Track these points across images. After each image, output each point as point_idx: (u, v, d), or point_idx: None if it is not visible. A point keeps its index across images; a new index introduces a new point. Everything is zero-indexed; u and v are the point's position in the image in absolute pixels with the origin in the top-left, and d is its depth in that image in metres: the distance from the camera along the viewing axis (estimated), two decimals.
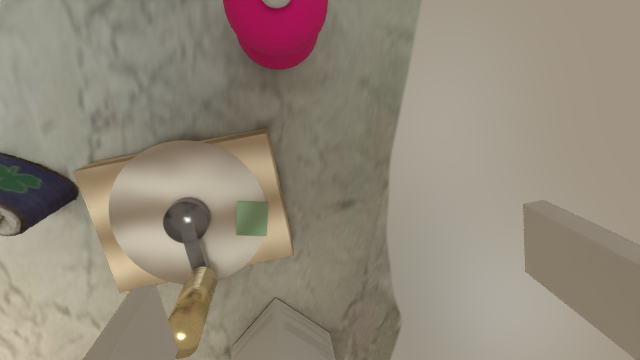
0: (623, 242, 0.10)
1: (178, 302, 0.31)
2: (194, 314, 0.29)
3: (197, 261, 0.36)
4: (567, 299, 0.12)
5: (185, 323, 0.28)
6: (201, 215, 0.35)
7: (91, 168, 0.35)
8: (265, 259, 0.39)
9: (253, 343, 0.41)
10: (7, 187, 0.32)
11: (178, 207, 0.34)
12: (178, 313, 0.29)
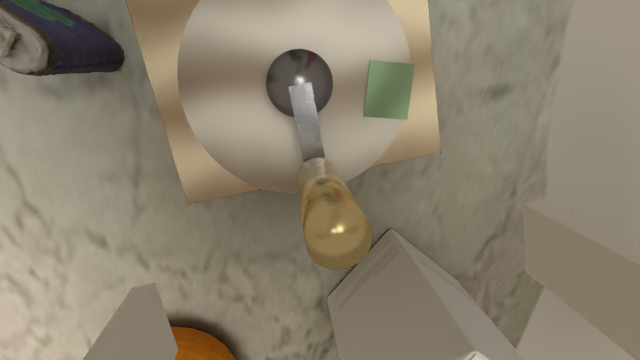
0: (623, 242, 0.10)
1: (312, 187, 0.18)
2: (352, 199, 0.17)
3: (312, 148, 0.23)
4: (567, 299, 0.12)
5: (350, 205, 0.16)
6: (325, 70, 0.22)
7: None
8: (400, 157, 0.26)
9: (374, 284, 0.28)
10: (23, 6, 0.20)
11: (291, 55, 0.22)
12: (326, 195, 0.17)
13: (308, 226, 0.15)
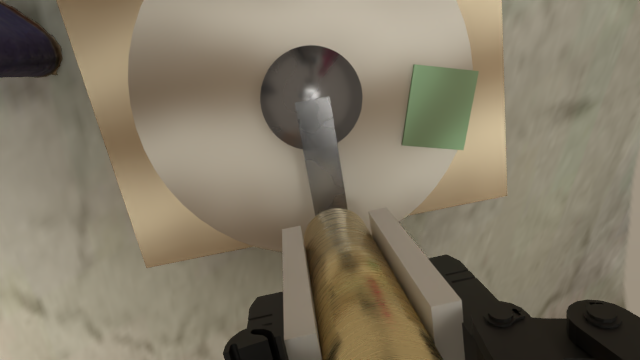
0: (409, 245, 0.12)
1: (337, 282, 0.11)
2: (414, 318, 0.09)
3: (329, 195, 0.16)
4: None
5: (420, 351, 0.08)
6: (352, 79, 0.15)
7: None
8: (450, 202, 0.19)
9: None
10: None
11: (299, 56, 0.14)
12: (367, 314, 0.09)
13: None
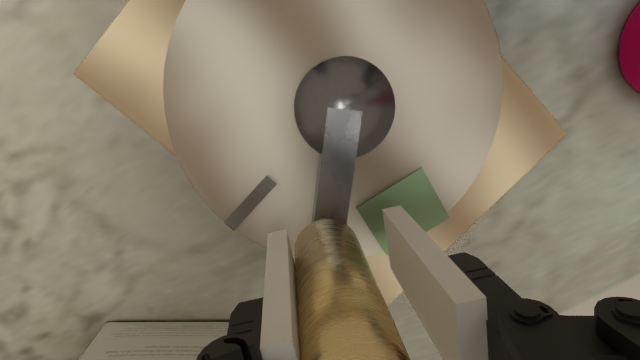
0: (427, 242, 0.12)
1: (331, 291, 0.11)
2: (402, 346, 0.09)
3: (333, 205, 0.16)
4: (406, 292, 0.14)
5: None
6: (388, 102, 0.15)
7: None
8: None
9: None
10: None
11: (346, 64, 0.14)
12: (361, 330, 0.09)
13: None
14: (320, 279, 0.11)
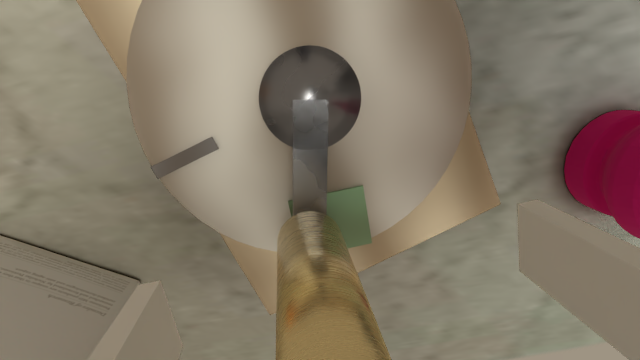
0: (613, 241, 0.10)
1: (304, 283, 0.11)
2: (375, 330, 0.09)
3: (311, 197, 0.16)
4: (560, 298, 0.12)
5: None
6: (353, 87, 0.15)
7: None
8: (246, 268, 0.18)
9: (30, 304, 0.17)
10: None
11: (305, 54, 0.14)
12: (330, 318, 0.09)
13: None
14: (295, 272, 0.11)
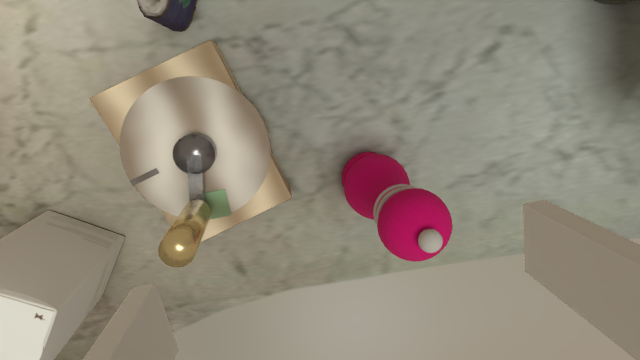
0: (623, 242, 0.10)
1: (178, 220, 0.33)
2: (193, 231, 0.31)
3: (196, 193, 0.38)
4: (567, 299, 0.12)
5: (186, 234, 0.30)
6: (210, 150, 0.37)
7: (218, 56, 0.37)
8: None
9: (75, 240, 0.39)
10: None
11: (190, 138, 0.36)
12: (179, 226, 0.31)
13: (161, 242, 0.30)
14: (178, 218, 0.34)
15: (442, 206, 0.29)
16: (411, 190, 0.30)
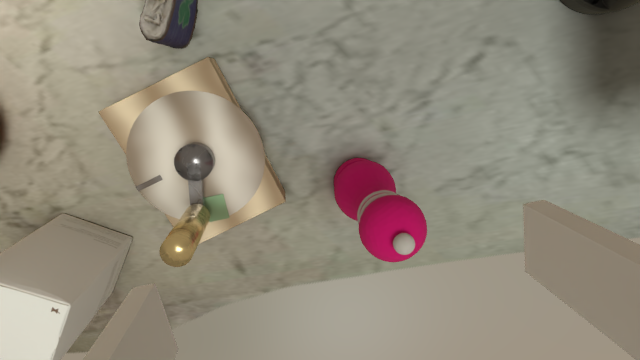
0: (623, 241, 0.10)
1: (178, 224, 0.36)
2: (191, 234, 0.35)
3: (196, 198, 0.41)
4: (567, 299, 0.12)
5: (184, 237, 0.33)
6: (209, 158, 0.40)
7: (215, 71, 0.40)
8: None
9: (87, 241, 0.43)
10: (180, 12, 0.36)
11: (190, 147, 0.40)
12: (178, 230, 0.34)
13: (162, 244, 0.33)
14: (178, 222, 0.37)
15: (416, 212, 0.32)
16: (389, 197, 0.33)
